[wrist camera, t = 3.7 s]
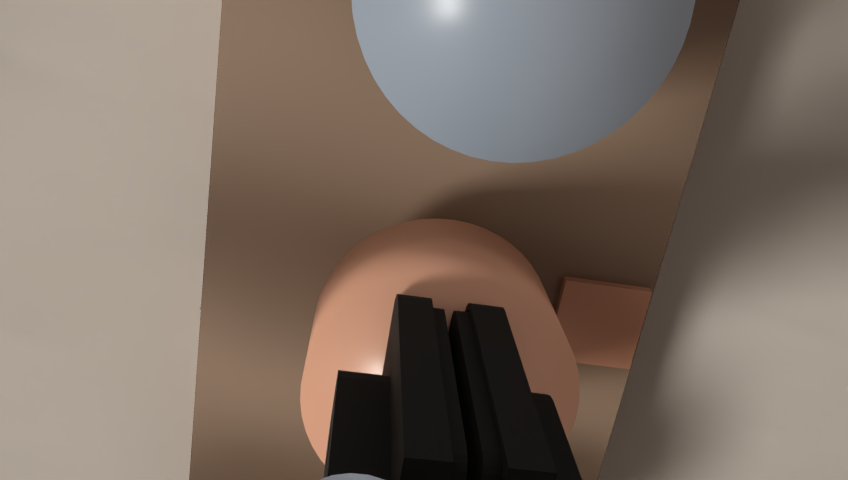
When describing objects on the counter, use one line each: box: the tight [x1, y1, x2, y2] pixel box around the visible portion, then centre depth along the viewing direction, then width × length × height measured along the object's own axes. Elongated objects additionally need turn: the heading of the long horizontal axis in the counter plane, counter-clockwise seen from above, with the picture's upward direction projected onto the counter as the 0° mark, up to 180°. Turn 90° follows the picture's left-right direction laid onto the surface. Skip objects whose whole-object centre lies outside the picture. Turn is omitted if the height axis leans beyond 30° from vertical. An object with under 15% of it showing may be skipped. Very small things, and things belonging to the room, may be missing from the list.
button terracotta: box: [300, 219, 580, 465], centre depth 13 cm, size 4×4×2 cm
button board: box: [189, 0, 739, 480], centre depth 16 cm, size 18×9×2 cm, turn 171°
